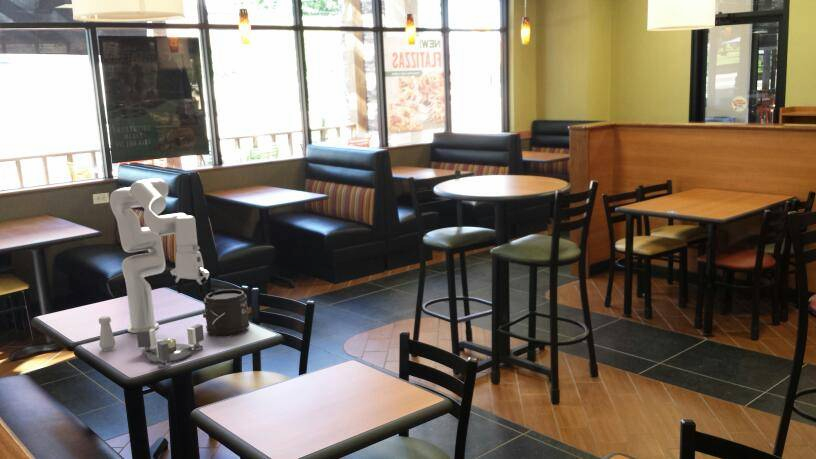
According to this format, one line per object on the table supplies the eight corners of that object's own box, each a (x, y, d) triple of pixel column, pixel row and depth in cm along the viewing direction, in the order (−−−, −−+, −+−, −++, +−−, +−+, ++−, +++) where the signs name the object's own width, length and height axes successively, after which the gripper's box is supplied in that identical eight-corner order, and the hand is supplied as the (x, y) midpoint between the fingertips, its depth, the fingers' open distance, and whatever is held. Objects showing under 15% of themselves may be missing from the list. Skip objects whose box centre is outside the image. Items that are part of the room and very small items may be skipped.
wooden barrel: (203, 327, 308) (200, 291, 306) (246, 322, 314) (244, 286, 311) (205, 340, 292) (202, 302, 289) (251, 334, 297) (248, 296, 294)
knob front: (163, 365, 262) (161, 344, 260) (157, 361, 266) (155, 340, 265) (170, 364, 263) (168, 343, 262) (164, 359, 268) (162, 339, 266)
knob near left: (204, 344, 283) (202, 324, 282) (194, 349, 278) (192, 329, 277) (199, 343, 284) (197, 324, 283) (188, 348, 279) (187, 328, 278)
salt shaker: (110, 352, 283) (106, 319, 280) (96, 351, 284) (93, 319, 281) (119, 346, 288) (115, 315, 286) (106, 346, 289) (102, 314, 287)
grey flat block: (140, 349, 280) (138, 330, 279) (156, 348, 281) (154, 328, 279) (138, 351, 278) (136, 332, 276) (155, 350, 278) (153, 330, 277)
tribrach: (143, 351, 282) (141, 334, 281) (204, 346, 284) (202, 330, 283) (130, 370, 262) (128, 353, 260) (195, 365, 264) (193, 348, 263)
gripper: (212, 247, 274) (216, 292, 277) (175, 245, 281) (179, 289, 284) (199, 251, 268) (203, 297, 271) (162, 249, 274) (166, 294, 277)
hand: (191, 293), depth 277 cm, fingers open, 9 cm apart
